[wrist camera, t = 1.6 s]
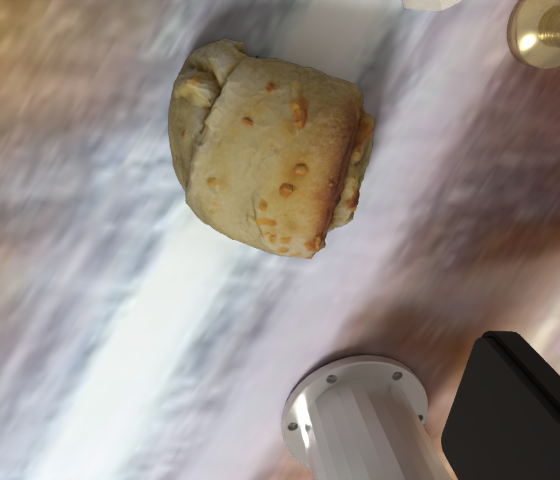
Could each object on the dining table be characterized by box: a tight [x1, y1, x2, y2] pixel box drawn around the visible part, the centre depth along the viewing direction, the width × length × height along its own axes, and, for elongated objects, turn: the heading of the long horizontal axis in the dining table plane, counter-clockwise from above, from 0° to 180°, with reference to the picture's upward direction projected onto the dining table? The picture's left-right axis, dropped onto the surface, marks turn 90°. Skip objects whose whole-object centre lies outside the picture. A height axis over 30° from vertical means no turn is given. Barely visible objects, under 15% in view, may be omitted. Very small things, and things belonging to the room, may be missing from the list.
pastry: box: [168, 39, 375, 259], centre depth 30 cm, size 14×12×8 cm
